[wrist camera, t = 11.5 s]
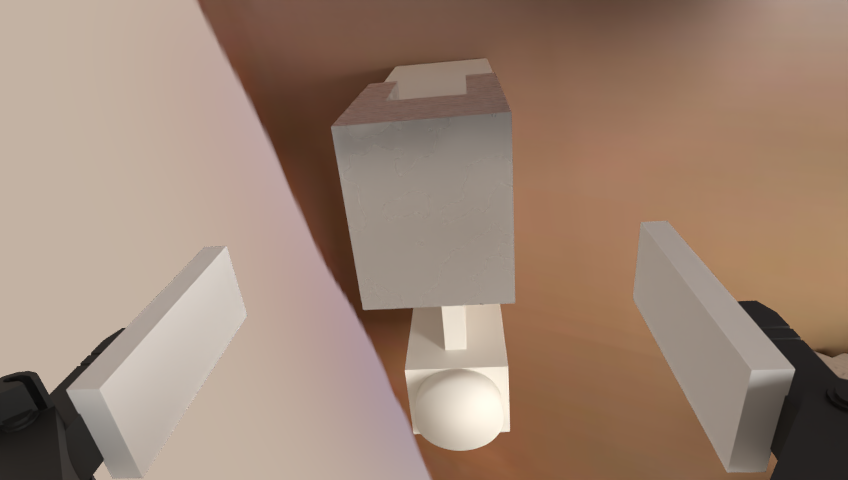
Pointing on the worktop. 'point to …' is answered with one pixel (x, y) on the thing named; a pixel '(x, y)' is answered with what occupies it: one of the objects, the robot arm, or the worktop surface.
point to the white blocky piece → (454, 324)
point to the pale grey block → (429, 195)
